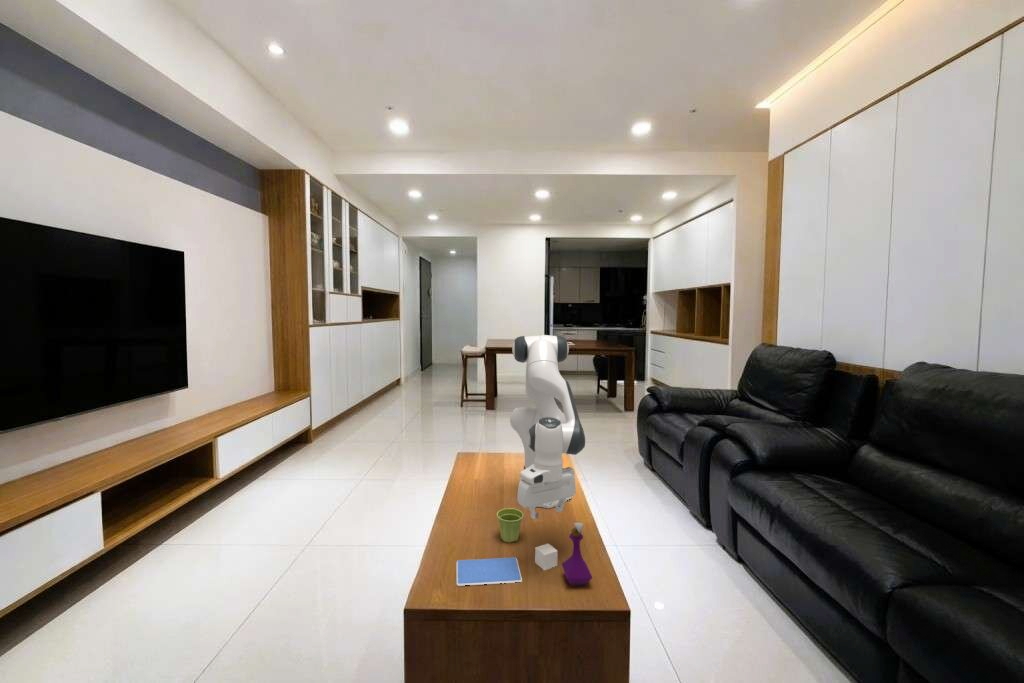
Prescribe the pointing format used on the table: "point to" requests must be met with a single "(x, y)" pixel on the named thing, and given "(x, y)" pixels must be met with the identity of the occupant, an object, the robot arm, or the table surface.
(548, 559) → the cream block
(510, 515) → the plant pot
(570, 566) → the perfume bottle
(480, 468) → the table surface
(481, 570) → the tablet computer
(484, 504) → the table surface
